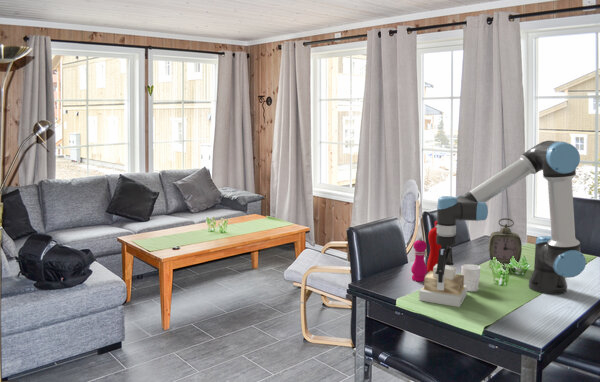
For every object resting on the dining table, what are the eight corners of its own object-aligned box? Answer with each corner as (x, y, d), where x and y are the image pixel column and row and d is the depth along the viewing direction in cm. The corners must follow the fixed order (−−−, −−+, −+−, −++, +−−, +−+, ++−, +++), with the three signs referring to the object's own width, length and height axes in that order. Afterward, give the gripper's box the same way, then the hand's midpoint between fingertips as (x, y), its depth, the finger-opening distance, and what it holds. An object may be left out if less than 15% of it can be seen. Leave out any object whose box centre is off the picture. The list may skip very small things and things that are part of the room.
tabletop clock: (488, 269, 257) (491, 219, 253) (487, 264, 265) (490, 215, 262) (520, 272, 253) (523, 220, 249) (518, 266, 261) (521, 217, 258)
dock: (466, 294, 221) (467, 285, 220) (459, 306, 207) (460, 297, 206) (428, 288, 228) (428, 279, 228) (419, 300, 214) (419, 290, 213)
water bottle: (446, 277, 245) (448, 224, 241) (424, 272, 251) (426, 221, 248) (454, 272, 252) (456, 221, 248) (432, 268, 258) (434, 218, 255)
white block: (455, 275, 217) (456, 266, 216) (452, 279, 212) (453, 270, 211) (436, 273, 221) (436, 263, 220) (432, 277, 215) (433, 267, 215)
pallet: (463, 287, 218) (464, 275, 217) (459, 294, 209) (459, 282, 209) (429, 282, 224) (430, 270, 224) (424, 289, 216) (424, 277, 215)
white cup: (464, 284, 234) (465, 263, 232) (482, 288, 229) (483, 266, 227) (457, 289, 227) (458, 267, 226) (475, 293, 223) (476, 270, 221)
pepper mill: (427, 282, 237) (428, 239, 234) (410, 281, 238) (412, 238, 235) (426, 277, 244) (428, 235, 241) (410, 276, 245) (412, 234, 242)
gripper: (443, 227, 226) (441, 275, 229) (429, 240, 204) (427, 292, 207) (461, 229, 223) (459, 277, 226) (449, 242, 201) (447, 295, 204)
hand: (444, 285), depth 217 cm, fingers open, 13 cm apart
